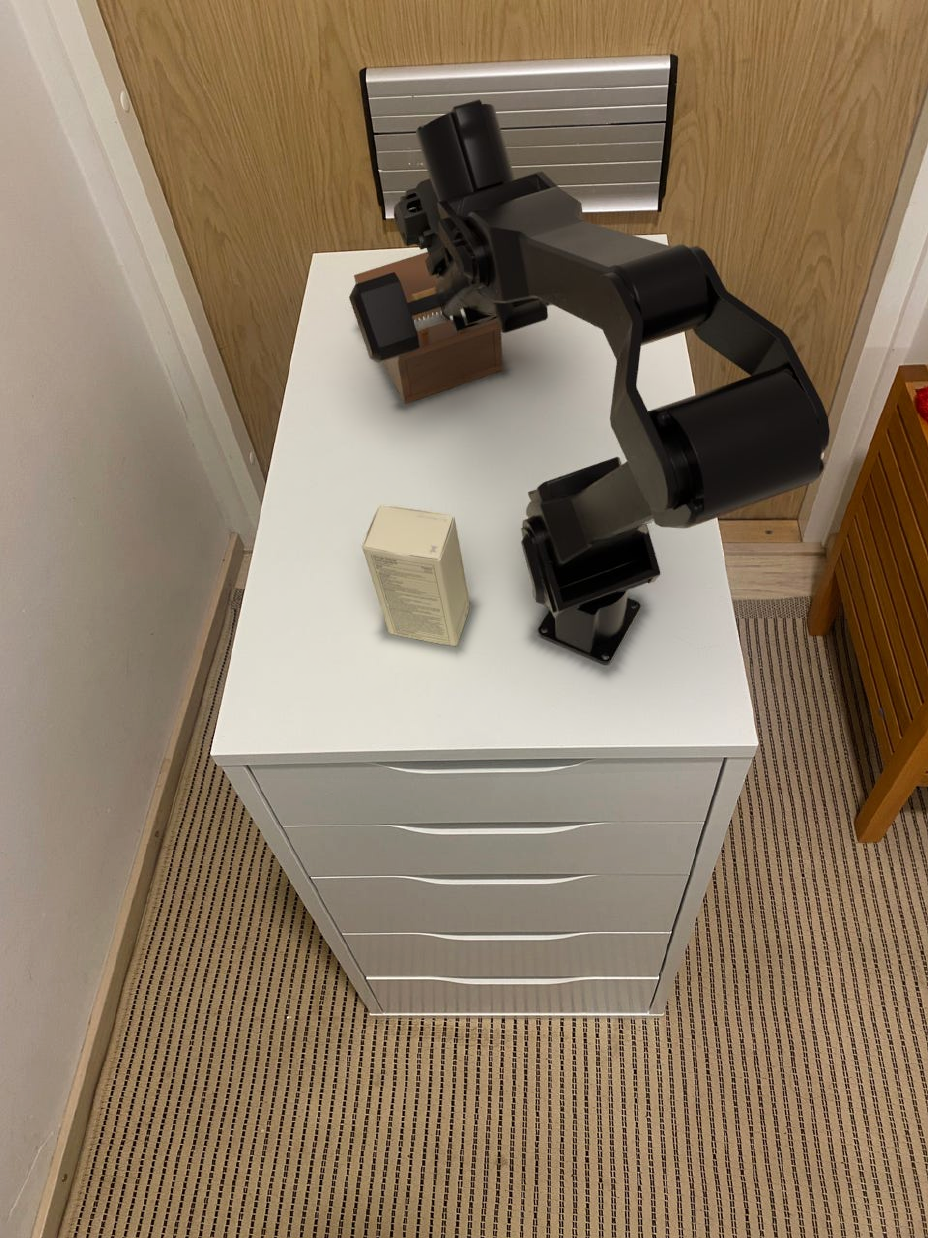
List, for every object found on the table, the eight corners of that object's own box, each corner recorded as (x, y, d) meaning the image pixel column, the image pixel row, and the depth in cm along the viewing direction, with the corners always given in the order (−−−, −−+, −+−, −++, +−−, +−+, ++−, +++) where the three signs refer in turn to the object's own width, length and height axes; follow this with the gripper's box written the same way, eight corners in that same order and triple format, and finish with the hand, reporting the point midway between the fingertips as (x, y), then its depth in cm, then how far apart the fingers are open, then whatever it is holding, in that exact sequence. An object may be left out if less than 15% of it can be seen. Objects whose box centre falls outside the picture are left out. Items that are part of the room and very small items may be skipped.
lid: (503, 327, 90) (501, 282, 86) (399, 361, 89) (391, 318, 84) (452, 250, 97) (447, 206, 93) (354, 281, 96) (346, 237, 91)
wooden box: (503, 370, 95) (500, 323, 90) (405, 403, 94) (397, 358, 89) (456, 297, 102) (452, 250, 97) (364, 328, 100) (355, 281, 96)
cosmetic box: (470, 606, 80) (459, 514, 70) (456, 650, 78) (442, 561, 67) (400, 592, 81) (379, 500, 71) (384, 635, 79) (359, 546, 69)
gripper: (570, 128, 71) (514, 187, 86) (333, 200, 68) (318, 248, 83) (612, 277, 73) (551, 310, 88) (385, 353, 70) (362, 373, 85)
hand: (447, 307), depth 86 cm, fingers open, 9 cm apart
